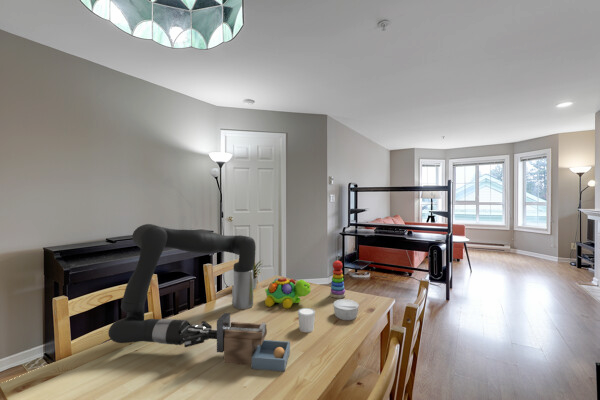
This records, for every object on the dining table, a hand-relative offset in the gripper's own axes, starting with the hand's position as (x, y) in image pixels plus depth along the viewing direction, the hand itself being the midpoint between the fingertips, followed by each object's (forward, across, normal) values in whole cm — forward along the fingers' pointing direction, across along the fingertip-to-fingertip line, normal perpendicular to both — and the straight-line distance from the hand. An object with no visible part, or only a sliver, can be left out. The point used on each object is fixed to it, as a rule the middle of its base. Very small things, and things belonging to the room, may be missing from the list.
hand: (220, 334), depth 89 cm
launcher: (+9, 0, +7) cm, 11 cm away
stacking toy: (+39, +58, +7) cm, 70 cm away
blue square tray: (+17, 0, +7) cm, 18 cm away
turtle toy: (+14, +47, +7) cm, 50 cm away
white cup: (+26, +22, +7) cm, 35 cm away
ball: (+20, 0, +5) cm, 20 cm away
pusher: (+7, 0, +4) cm, 8 cm away
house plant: (-8, +64, +7) cm, 65 cm away
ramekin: (+42, +35, +7) cm, 56 cm away
